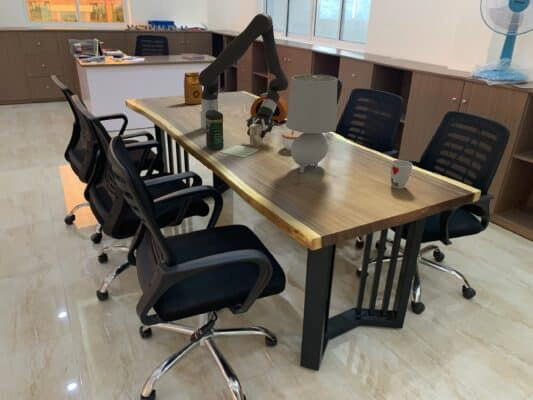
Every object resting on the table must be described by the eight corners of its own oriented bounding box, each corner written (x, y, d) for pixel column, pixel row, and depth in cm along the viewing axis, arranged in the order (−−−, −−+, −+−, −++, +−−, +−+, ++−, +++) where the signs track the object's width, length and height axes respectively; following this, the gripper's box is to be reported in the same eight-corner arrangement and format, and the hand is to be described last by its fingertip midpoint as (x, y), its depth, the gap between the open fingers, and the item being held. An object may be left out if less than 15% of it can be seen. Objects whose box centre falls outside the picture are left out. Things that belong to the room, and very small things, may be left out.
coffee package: (204, 104, 302) (203, 72, 293) (188, 105, 296) (186, 73, 287) (199, 101, 310) (198, 70, 300) (183, 102, 304) (181, 71, 295)
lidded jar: (285, 152, 207) (286, 134, 203) (278, 146, 216) (279, 128, 212) (305, 151, 209) (306, 133, 206) (298, 145, 219) (299, 127, 215)
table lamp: (318, 181, 174) (326, 83, 157) (273, 170, 184) (277, 77, 167) (339, 166, 191) (349, 76, 175) (298, 156, 202) (303, 71, 185)
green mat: (220, 152, 204) (220, 151, 204) (236, 145, 215) (236, 144, 215) (243, 157, 198) (243, 157, 198) (259, 150, 209) (259, 149, 209)
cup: (385, 182, 175) (388, 159, 171) (403, 182, 176) (408, 159, 171) (392, 190, 168) (396, 166, 163) (411, 190, 168) (416, 166, 164)
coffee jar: (225, 149, 209) (225, 112, 201) (210, 151, 206) (209, 113, 198) (219, 143, 217) (218, 108, 209) (204, 145, 214) (203, 109, 206)
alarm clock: (249, 119, 266) (250, 92, 259) (255, 116, 274) (255, 90, 267) (284, 123, 259) (285, 96, 252) (289, 120, 266) (290, 93, 259)
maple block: (249, 144, 218) (249, 125, 213) (254, 142, 221) (255, 123, 217) (257, 146, 215) (258, 127, 211) (262, 143, 219) (263, 125, 215)
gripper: (253, 103, 220) (240, 130, 215) (276, 107, 213) (264, 134, 209) (258, 112, 226) (246, 137, 222) (281, 115, 219) (269, 142, 215)
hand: (254, 136), depth 215 cm, fingers open, 7 cm apart
